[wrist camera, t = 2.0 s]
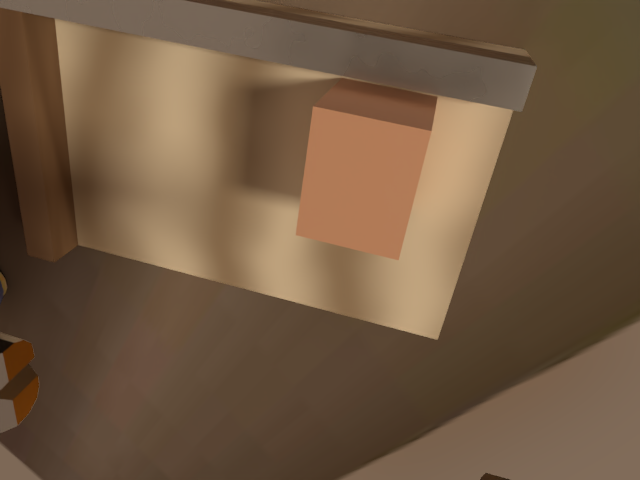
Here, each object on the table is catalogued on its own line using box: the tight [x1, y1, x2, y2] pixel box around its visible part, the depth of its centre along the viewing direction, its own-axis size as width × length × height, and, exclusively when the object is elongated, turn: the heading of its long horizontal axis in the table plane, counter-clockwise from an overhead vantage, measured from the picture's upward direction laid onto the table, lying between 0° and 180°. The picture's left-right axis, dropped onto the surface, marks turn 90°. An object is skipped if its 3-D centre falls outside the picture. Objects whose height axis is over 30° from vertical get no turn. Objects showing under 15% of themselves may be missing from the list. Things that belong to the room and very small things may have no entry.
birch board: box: [0, 0, 530, 340], centre depth 25 cm, size 22×14×4 cm, turn 83°
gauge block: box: [296, 78, 438, 260], centre depth 21 cm, size 4×5×5 cm
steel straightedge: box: [0, 0, 537, 112], centre depth 21 cm, size 22×2×2 cm, turn 83°
